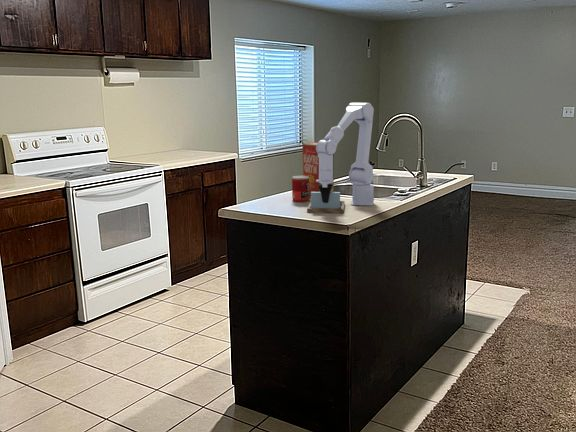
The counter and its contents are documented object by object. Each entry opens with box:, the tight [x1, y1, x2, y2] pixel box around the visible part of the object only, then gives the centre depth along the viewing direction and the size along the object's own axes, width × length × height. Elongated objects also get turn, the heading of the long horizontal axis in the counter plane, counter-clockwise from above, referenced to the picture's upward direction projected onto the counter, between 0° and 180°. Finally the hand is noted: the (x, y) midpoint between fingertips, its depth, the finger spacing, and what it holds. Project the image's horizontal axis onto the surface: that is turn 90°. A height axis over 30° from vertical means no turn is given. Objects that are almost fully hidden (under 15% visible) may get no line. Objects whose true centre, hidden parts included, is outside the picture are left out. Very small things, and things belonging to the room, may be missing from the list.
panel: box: [310, 191, 341, 209], centre depth 238 cm, size 12×2×8 cm, turn 83°
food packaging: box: [302, 142, 335, 198], centre depth 270 cm, size 13×9×25 cm
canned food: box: [291, 175, 310, 203], centre depth 261 cm, size 8×8×11 cm
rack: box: [306, 200, 345, 214], centre depth 244 cm, size 15×18×2 cm
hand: (325, 201), depth 238 cm, fingers closed on panel, 2 cm apart
